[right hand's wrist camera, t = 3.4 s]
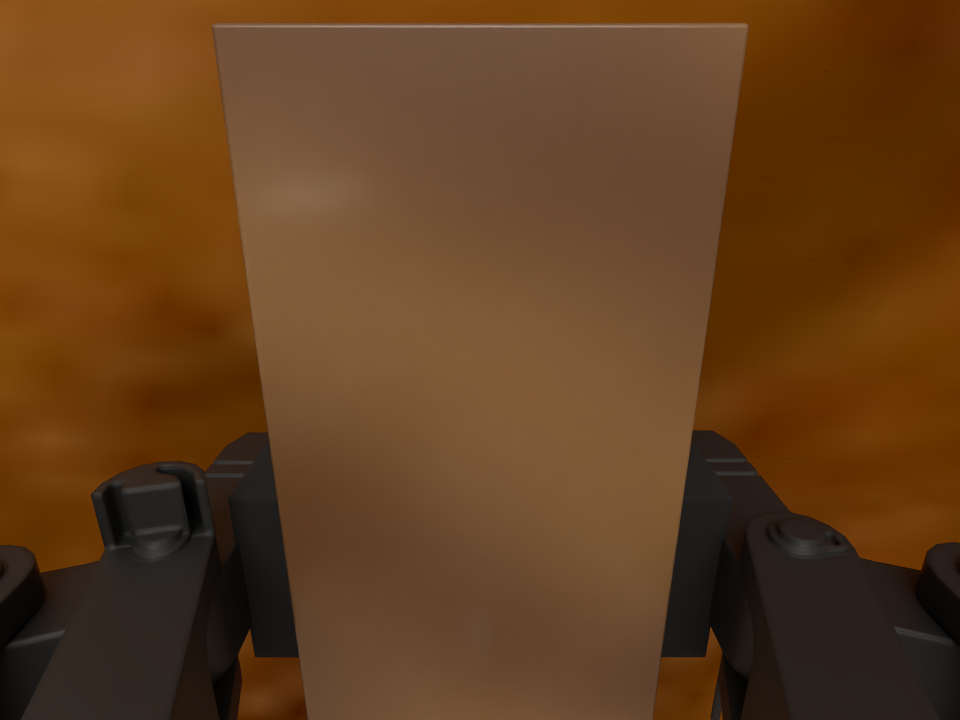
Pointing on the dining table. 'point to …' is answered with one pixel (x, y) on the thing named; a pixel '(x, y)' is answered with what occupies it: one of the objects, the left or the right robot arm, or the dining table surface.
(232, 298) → the dining table surface
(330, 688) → the bar
